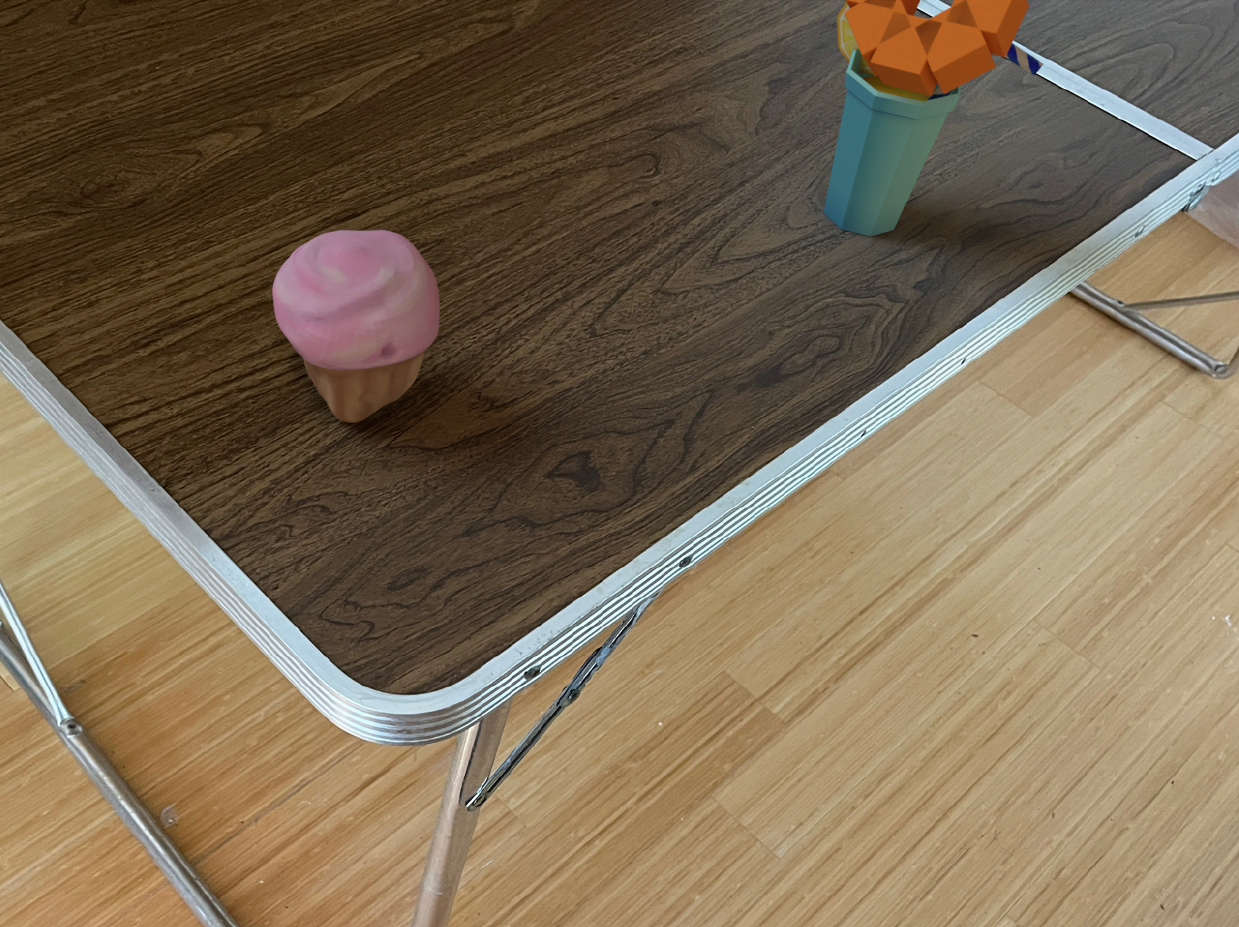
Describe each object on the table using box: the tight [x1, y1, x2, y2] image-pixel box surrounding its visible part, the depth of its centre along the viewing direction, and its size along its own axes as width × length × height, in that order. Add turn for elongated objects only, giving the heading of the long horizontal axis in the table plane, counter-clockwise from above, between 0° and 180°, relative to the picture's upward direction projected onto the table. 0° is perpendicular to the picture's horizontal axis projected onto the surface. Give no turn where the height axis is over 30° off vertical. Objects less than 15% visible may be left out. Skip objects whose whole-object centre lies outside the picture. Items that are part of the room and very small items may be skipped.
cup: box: [823, 1, 1044, 237], centre depth 81 cm, size 14×8×15 cm, turn 50°
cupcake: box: [271, 229, 441, 424], centre depth 67 cm, size 9×9×10 cm
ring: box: [845, 0, 1030, 96], centre depth 74 cm, size 10×10×3 cm
